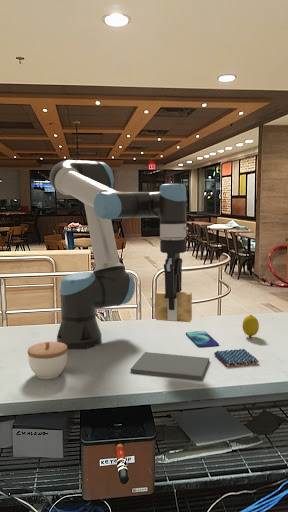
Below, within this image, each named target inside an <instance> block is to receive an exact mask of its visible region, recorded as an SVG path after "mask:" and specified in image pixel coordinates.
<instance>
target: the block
mask: <svg viewBox="0 0 288 512" xmlns="http://www.w3.org/2000/svg"><path fill="white" fill-rule="evenodd" d="M164 296H165V290H164V291H162V290H161V291H159V290H158V291H157V292H155V320H156V321H165V322H167V321H168V322H172V321H171V320H168V314H167V298H164ZM192 296H193V293H192V292H185V291H184V292H183V291H180V292H176V298H177V321H176V322H180V323H191V322H192V320H193V310H192V309H193V306H192V304H193V301H192V300H193V297H192Z"/></svg>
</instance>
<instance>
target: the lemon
mask: <svg viewBox="0 0 288 512" xmlns="http://www.w3.org/2000/svg"><path fill="white" fill-rule="evenodd" d="M259 323H260V322H259V320H258V319H257V317H256V316H254V315H252V314H249V315H247V316H246V317H245V318H244V319H243V321H242V330H243V332H244V334H245V335H247V336H248V337H249V338H251V337H254V336H255V335H257V334H258V332H259V330H260V327H259V326H260V324H259Z"/></svg>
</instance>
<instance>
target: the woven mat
mask: <svg viewBox="0 0 288 512" xmlns="http://www.w3.org/2000/svg"><path fill="white" fill-rule="evenodd" d="M213 355H214V356H215V357H216V358H217V359H218V360H219V361H220V362H221V363H222V364H223V365H224V366H225V367H226V368H230V367H240V366H242V367H245V366H251V365H253V366H254V365H259V362H260V361H259V360H258V359H257V357H255V356H254V355H252V353H250V352H249V351H247V350H245V348H243V349H242V348H238V349H230V350H228V349H226V350H216V351H215V352H214V353H213Z"/></svg>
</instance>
